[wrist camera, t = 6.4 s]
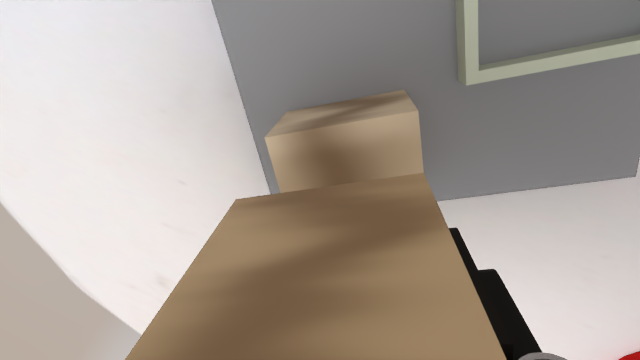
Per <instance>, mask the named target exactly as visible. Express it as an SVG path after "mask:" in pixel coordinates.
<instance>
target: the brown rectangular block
mask: <svg viewBox="0 0 640 360" xmlns="http://www.w3.org/2000/svg"><path fill="white" fill-rule="evenodd" d="M264 138H265V142H266V145H267V148H268V152H269V155H270V159H271V162H272V165H273V169H274V172H275V176H276V179H277V182H278V186H279V189H280V193H285V192H292V191H299V190H306V189H313V188H320V187H327V186H334V185H341V184H348V183H355V182H362V181H369V180H376V179H383V178H390V177H397V176H404V175H411V174H418V173H424V169H423V158H422V147H421V135H420V124H419V113H418V109H417V108H416V106H415V105H414V103H413V102H412V100H411V99H410V97H409V96H408V94H407V93H406V91H405V90H404V89H403V90H398V91H393V92H387V93H382V94H377V95H372V96H366V97H361V98H356V99H351V100H345V101H340V102H335V103H330V104H324V105H319V106H314V107H308V108H303V109H298V110H293V111H287V112H286V113H285V114H284V115H283V116H282V117H281V119H280V120H279V121H278V122H277V123H276V124H275V126H274V127H273V128H272V129H271V130H270V132H269V133H268V134H267V135H266V136H265V137H264Z"/></svg>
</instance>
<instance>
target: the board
mask: <svg viewBox="0 0 640 360" xmlns="http://www.w3.org/2000/svg"><path fill="white" fill-rule="evenodd" d="M211 1H212V4H213V7H214V11H215V14H216V17H217V20H218V24H219V27H220V30H221V33H222V37H223V40H224V43H225V46H226V50H227V53H228V56H229V59H230V63H231V66H232V69H233V72H234V76H235V79H236V82H237V85H238V89H239V92H240V95H241V98H242V102H243V105H244V108H245V111H246V115H247V118H248V121H249V125H250V128H251V131H252V134H253V138H254V141H255V144H256V147H257V151H258V154H259V157H260V160H261V164H262V167H263V170H264V173H265V177H266V180H267V183H268V186H269V190H270V193H271V194H278V193H280V189H279V186H278V182H277V179H276V176H275V172H274V169H273V165H272V162H271V159H270V155H269V152H268V148H267V145H266V142H265V138H264V137H265V136H266V135H267V134H268V133H269V132H270V130H271V129H272V128H273V127H274V126H275V124H276V123H277V122H278V121H279V120H280V119H281V117H282V116H283V115H284V114H285V113H286V112H287V111H293V110H298V109H303V108H308V107H314V106H319V105H324V104H330V103H335V102H340V101H345V100H351V99H356V98H361V97H366V96H372V95H377V94H382V93H387V92H393V91H398V90H403V89H404V90H405V91H406V93H407V94H408V96H409V97H410V99H411V100H412V102H413V103H414V105H415V106H416V108H417V109H418V113H419V124H420V135H421V147H422V158H423V169H424V174H425V177H426V179H427V181H428V183H429V186H430V188H431V190H432V192H433V195H434V197H435V199H436V201H443V200H451V199H459V198H467V197H475V196H483V195H491V194H499V193H507V192H515V191H523V190H531V189H540V188H548V187H556V186H564V185H572V184H580V183H588V182H596V181H604V180H612V179H620V178H628V177H636V172H637V167H638V162H639V158H640V53H639V54H634V55H629V56H623V57H618V58H612V59H607V60H602V61H596V62H591V63H585V64H580V65H575V66H569V67H564V68H558V69H553V70H548V71H542V72H537V73H531V74H526V75H521V76H515V77H510V78H504V79H499V80H494V81H488V82H483V83H477V84H472V85H467V86H466V85H464V84H463V83H461V82H459V81H458V58H457V30H456V3H455V0H211ZM638 34H640V0H478V53H479V65H485V64H490V63H495V62H500V61H505V60H510V59H515V58H520V57H526V56H531V55H536V54H541V53H546V52H551V51H556V50H561V49H567V48H572V47H577V46H582V45H587V44H592V43H597V42H602V41H608V40H613V39H618V38H623V37H628V36H633V35H638Z"/></svg>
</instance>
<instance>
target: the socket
mask: <svg viewBox="0 0 640 360" xmlns="http://www.w3.org/2000/svg"><path fill="white" fill-rule="evenodd" d="M455 3H456V30H457V58H458V81H459V82H461V83H463V84H464V85H466V86H467V85H472V84H477V83H483V82H488V81H494V80H499V79H504V78H510V77H515V76H521V75H526V74H531V73H537V72H542V71H548V70H553V69H558V68H564V67H569V66H575V65H580V64H585V63H591V62H596V61H602V60H607V59H612V58H618V57H623V56H629V55H634V54H639V53H640V34H638V35H633V36H628V37H623V38H618V39H613V40H608V41H602V42H597V43H592V44H587V45H582V46H577V47H572V48H567V49H561V50H556V51H551V52H546V53H541V54H536V55H531V56H526V57H520V58H515V59H510V60H505V61H500V62H495V63H490V64H485V65H479V53H478V0H455Z"/></svg>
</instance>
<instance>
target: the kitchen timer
mask: <svg viewBox="0 0 640 360" xmlns="http://www.w3.org/2000/svg"><path fill="white" fill-rule="evenodd" d="M619 360H640V351H639V352H636V353H633V354H630V355H627V356H624V357H622V358H620V359H619Z"/></svg>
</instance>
